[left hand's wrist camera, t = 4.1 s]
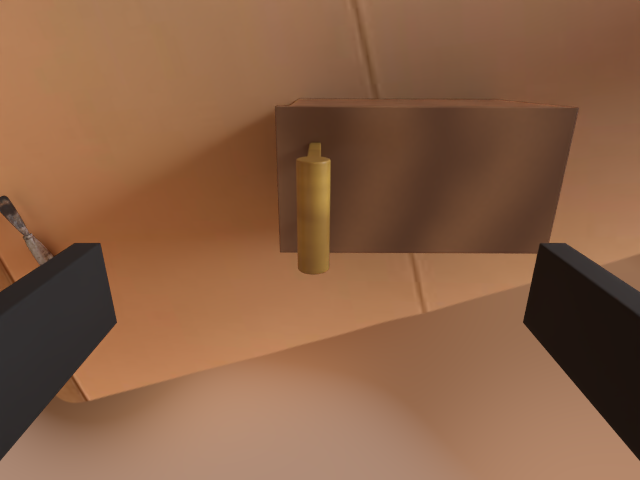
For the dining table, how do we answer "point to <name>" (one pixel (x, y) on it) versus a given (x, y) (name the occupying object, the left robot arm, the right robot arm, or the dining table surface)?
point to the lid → (418, 179)
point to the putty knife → (24, 231)
